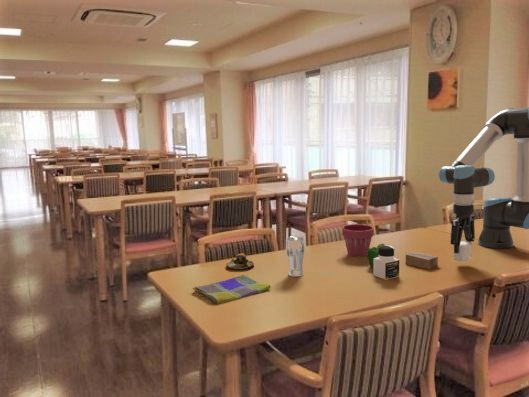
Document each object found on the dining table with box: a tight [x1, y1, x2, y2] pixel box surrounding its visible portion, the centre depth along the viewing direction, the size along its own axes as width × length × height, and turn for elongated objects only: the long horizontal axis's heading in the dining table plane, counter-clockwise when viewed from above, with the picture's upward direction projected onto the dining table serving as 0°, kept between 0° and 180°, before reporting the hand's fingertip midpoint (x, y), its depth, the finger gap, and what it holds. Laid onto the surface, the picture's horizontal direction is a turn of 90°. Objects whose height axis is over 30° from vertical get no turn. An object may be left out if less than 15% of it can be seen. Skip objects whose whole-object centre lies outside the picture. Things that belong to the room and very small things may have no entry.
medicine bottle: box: [372, 244, 400, 281], centre depth 177 cm, size 7×7×12 cm
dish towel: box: [192, 274, 271, 305], centre depth 166 cm, size 18×24×3 cm
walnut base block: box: [405, 251, 439, 270], centre depth 191 cm, size 6×11×4 cm, turn 37°
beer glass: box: [286, 236, 305, 278], centre depth 182 cm, size 7×7×15 cm
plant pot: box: [341, 223, 375, 258], centre depth 209 cm, size 14×14×13 cm
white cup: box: [460, 240, 473, 262], centre depth 187 cm, size 7×7×7 cm
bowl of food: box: [226, 249, 255, 270], centre depth 195 cm, size 12×12×8 cm
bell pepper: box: [367, 243, 385, 268], centre depth 189 cm, size 8×8×10 cm
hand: (462, 258), depth 187 cm, fingers closed on white cup, 7 cm apart
